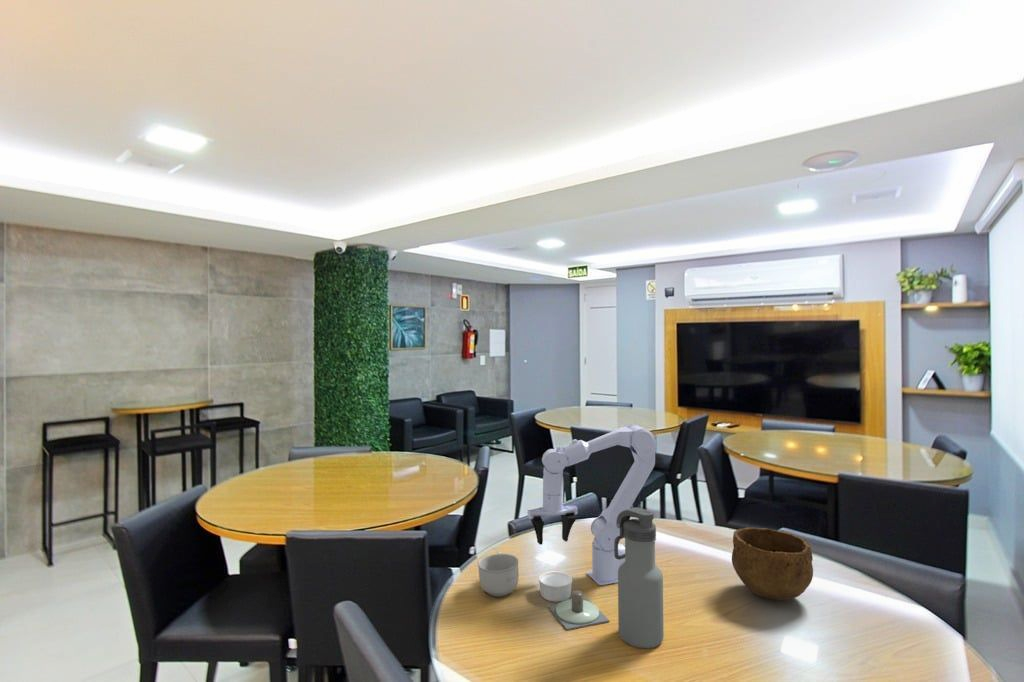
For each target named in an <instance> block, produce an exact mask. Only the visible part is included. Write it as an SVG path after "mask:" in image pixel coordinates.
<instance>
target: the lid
mask: <svg viewBox="0 0 1024 682" xmlns="http://www.w3.org/2000/svg"><path fill="white" fill-rule="evenodd" d="M583 599H584V593H583V592H582V591H581V590H573V591H571V598H570V599H567V600H564V601H559V603H557V604H558V605H557V607H556V614H557V616H558V617H559V618H560V619H562V620H564V621H566V622H569V623H573V624H587V623H591V622H593V621H595V620H596V619H597V618H598V617H599V610H600V609H599V608H598V606H597V605H595V604H594V603H593V602H592V601H591V602H592V603H591V602H588V601H585V600H583Z"/></svg>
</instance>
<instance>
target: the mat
mask: <svg viewBox="0 0 1024 682" xmlns="http://www.w3.org/2000/svg"><path fill="white" fill-rule="evenodd" d="M583 600H585V601H588V602H591V603H593V602H592V601H591V600H590V599H589V598H583ZM558 604H559V603H553V604H548V605H547V607H548V609H549V611H551V613H552V612H553V613H552V614H553V615H554V616H555V618H556V617H557V618H556V619H557V620H558V621H559V623H560V622H561V623H562V624H561V623H560V624H561V625H562V626H563V628H564V627H565V628H566V629H565V628H564V629H565V630H566V631H570V630H569V629H572V630H576V628H577V629H581V628H580V627H582V628H586V626H587V627H591V626H596V625H600V624H601V625H602V624H606V623H609V622H610V620H609V618H607V616H606V615H605V614H604V613H603V612H602V611H601V610H600V609H599V617H598V618H597V619H596V620H595V621H593V622H591V623H587V624H573V623H569V622H566V621H564V620H562V619H560V618H559V617H558V616H557V614H556V607H557V605H558Z"/></svg>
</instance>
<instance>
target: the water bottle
mask: <svg viewBox="0 0 1024 682" xmlns="http://www.w3.org/2000/svg"><path fill="white" fill-rule="evenodd" d="M631 517H633V518H631ZM654 519H655V513H654V512H653V511H652V510H648V509H645V508H641V507H631V508H630V509H627V510H624V511H622V512H621V513H619V515H618V517H617V522H616V525H617V528H620V536H617V537H616V538H615V541H614V556H615V558H616V559H618V560H620V559H623V558H625V562H624V563H622V564H621V565H620V567H619V569H618V582H617V603H618V604H617V605H618V606H617V610H618V616H617V617H618V620H617V621H618V622H617V623H618V634H619V637H620V638H621V640H622V641H623V642H625V643H627V644H628V645H630V646H633V647H635V648H639V649H641V648H642V649H650V648H655V647H657V646H659V645H661V644H662V642H663V641H664V636H665V635H664V632H665V631H664V630H665V629H664V577H663V571H662V570H661V569H660V567H658V565H657V564H656V540H657V526H656V524H655V523H653V521H654ZM622 539H624V547H625V554H623V555H620V556H619V555H618V542H619V540H620V541H621V540H622ZM619 543H620V542H619Z"/></svg>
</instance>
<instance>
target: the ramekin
mask: <svg viewBox="0 0 1024 682" xmlns="http://www.w3.org/2000/svg"><path fill="white" fill-rule="evenodd" d="M538 582H539V591H540V595H541V597H542V598H543V599H544V600H547V601H548V602H549V601H550V602H559V603H560V602H562V601H565V600H569V598H571V596H572V584H573V577H572V576H571V575H569V573H566V572H563V571H558V570H557V571H555V570H554V571H547V572H544V573H541V574H540V575H539V576H538Z"/></svg>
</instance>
